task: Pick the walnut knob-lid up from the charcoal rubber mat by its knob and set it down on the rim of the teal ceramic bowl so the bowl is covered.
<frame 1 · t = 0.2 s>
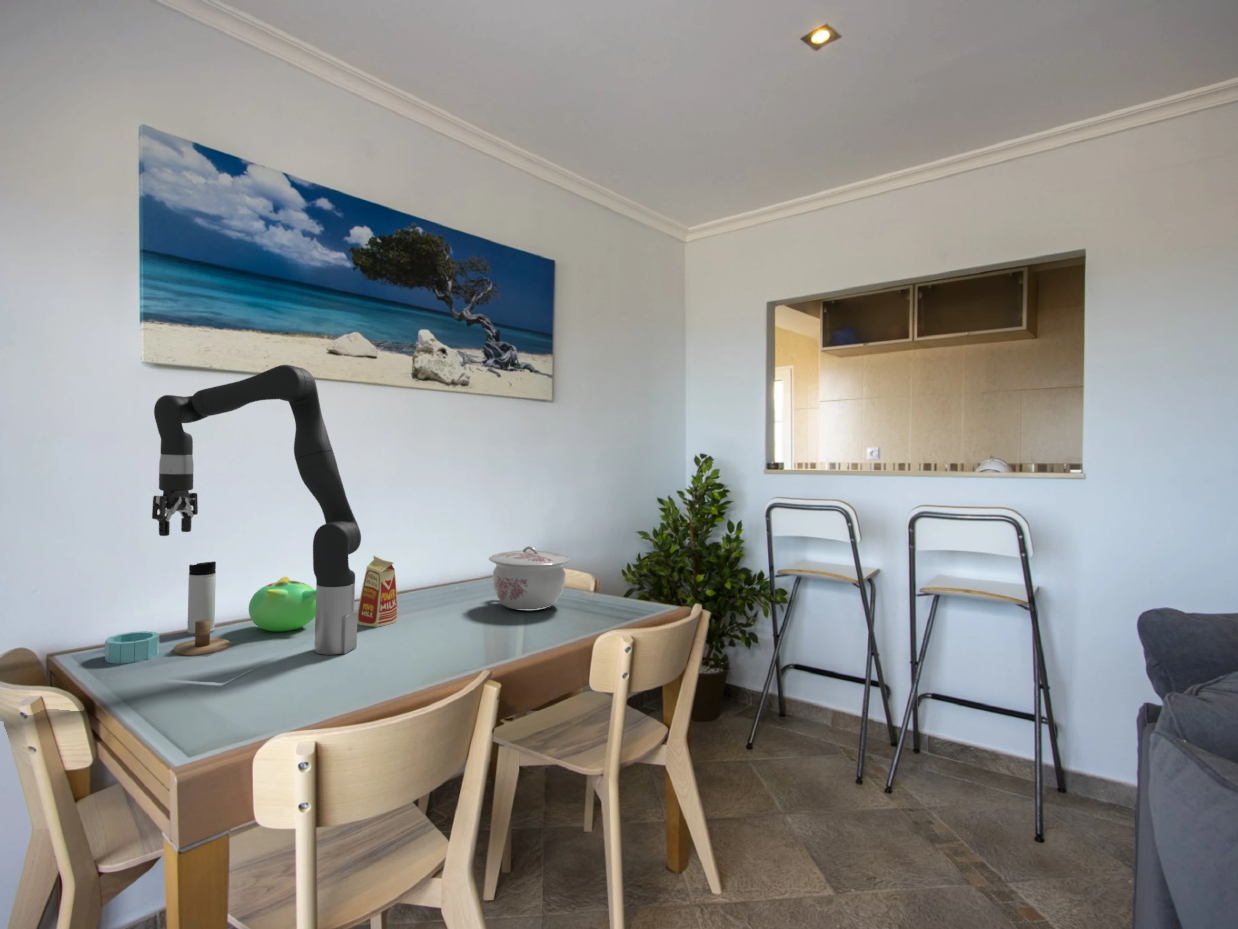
hand: (175, 533, 175), 28 cm above the table, fingers open, 8 cm apart
travel mug: (201, 635, 182), on the table
chamber pot: (528, 607, 227), on the table
toy bird: (284, 631, 188), on the table
mat: (202, 650, 168), on the table
lid: (202, 648, 168), point 1 cm above the table, touching mat
milk carton: (378, 623, 200), on the table
bowl: (132, 658, 160), on the table
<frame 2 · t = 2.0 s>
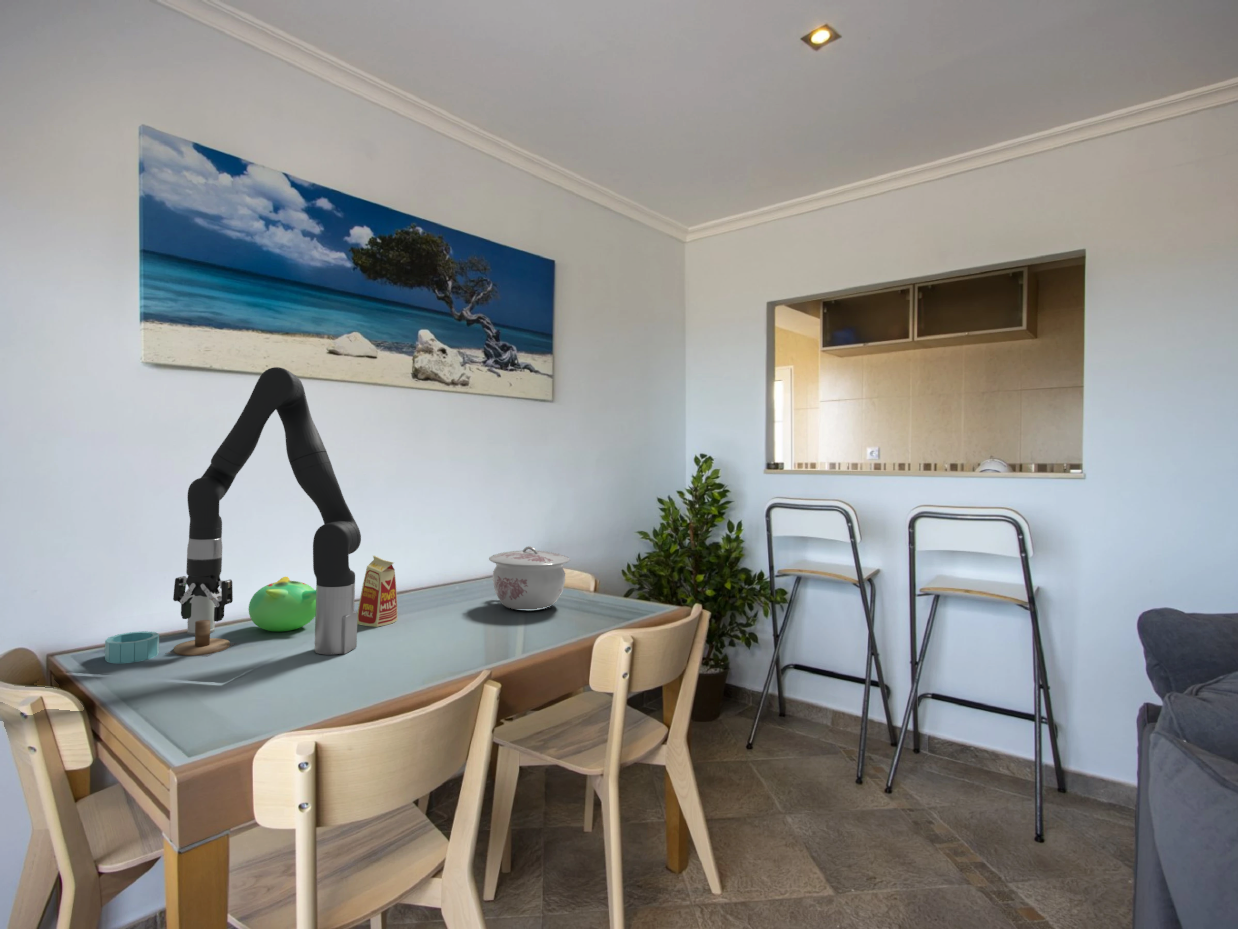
hand: (202, 619, 168), 8 cm above the table, fingers open, 8 cm apart
nothing on the table moved.
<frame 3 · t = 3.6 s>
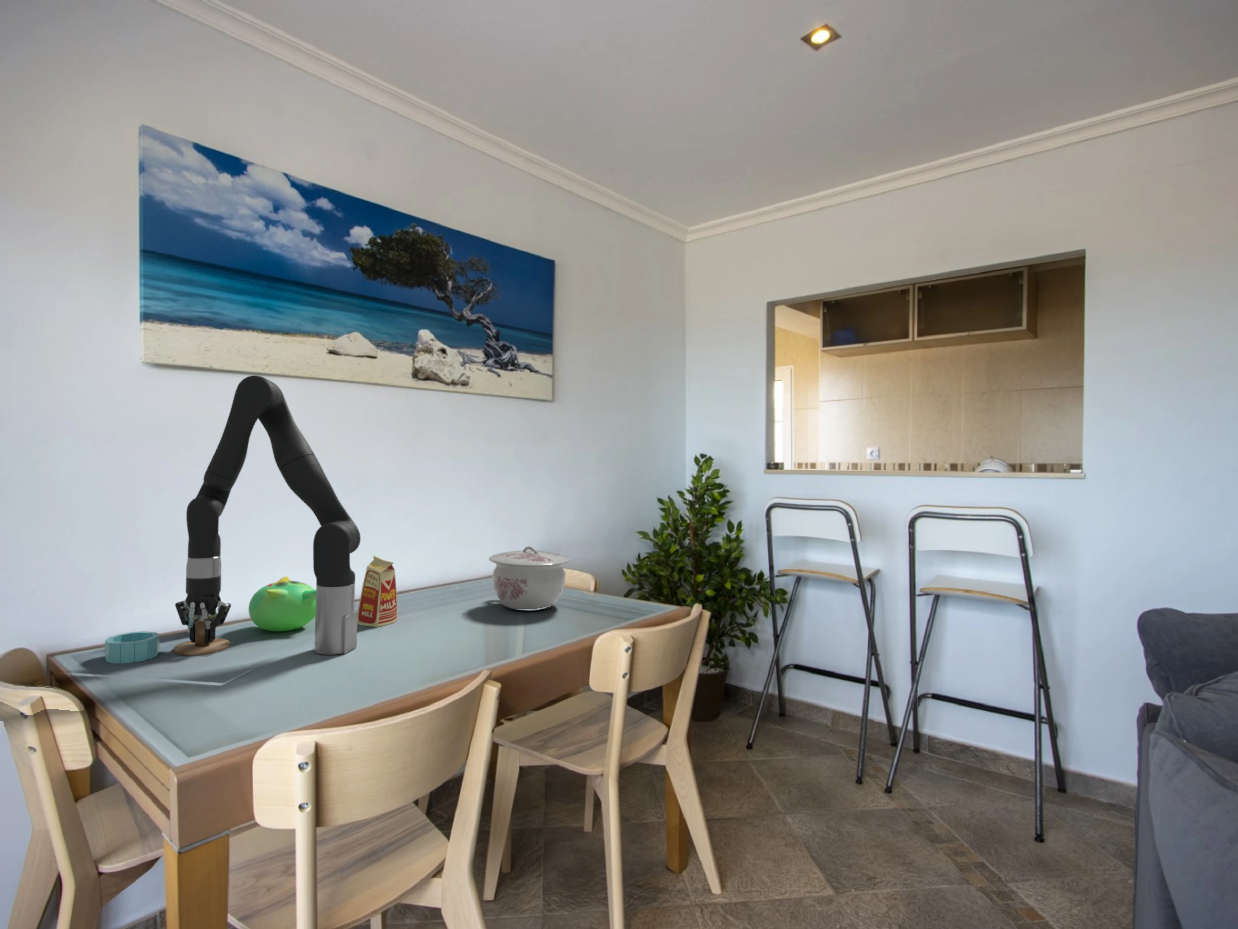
hand: (202, 642, 168), 2 cm above the table, fingers closed on lid, 3 cm apart
lid: (202, 648, 168), point 1 cm above the table, touching gripper, mat
everything else where it was.
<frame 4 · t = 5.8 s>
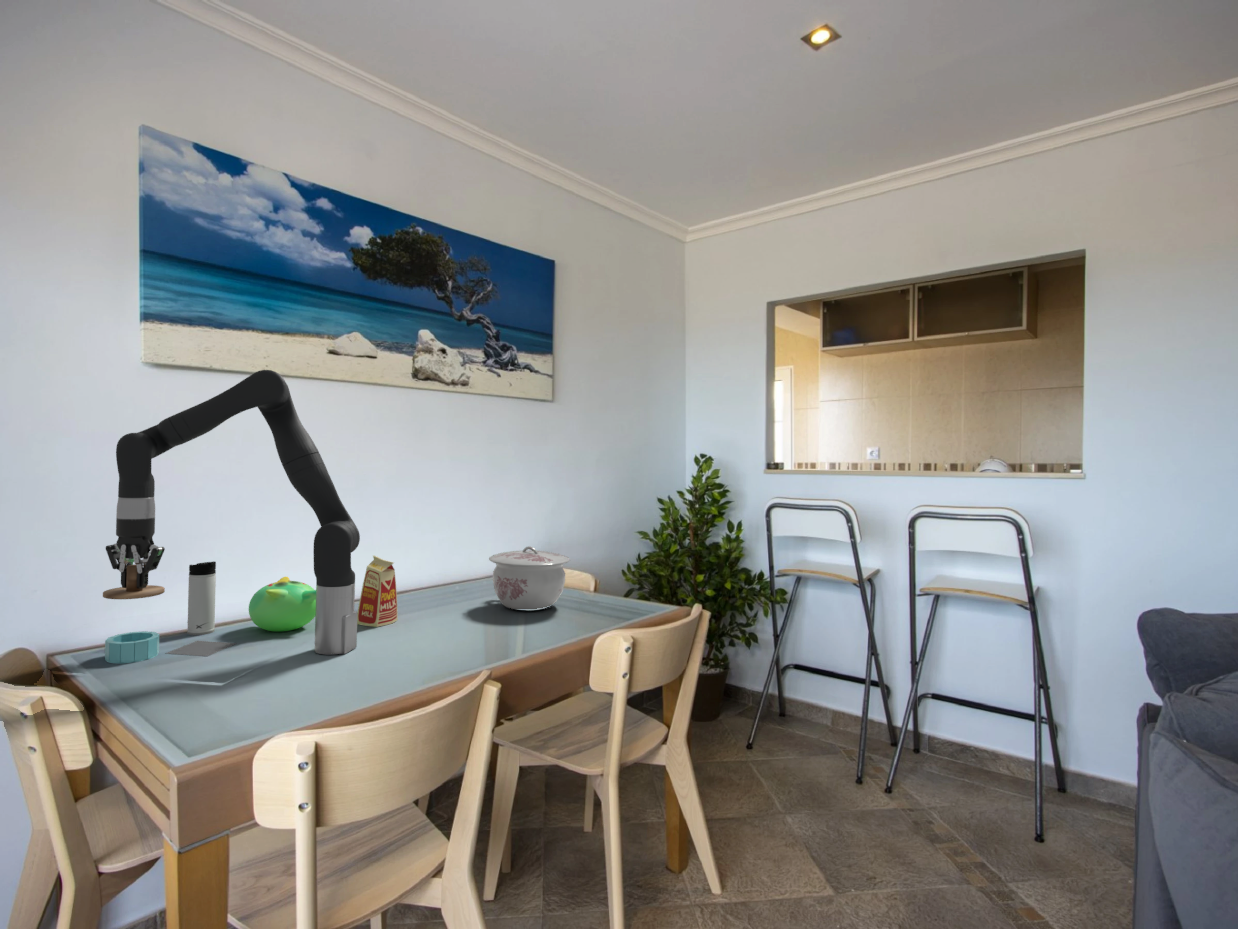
hand: (134, 587, 160), 17 cm above the table, fingers closed on lid, 3 cm apart
lid: (134, 593, 160), point 16 cm above the table, touching gripper
everything else where it was.
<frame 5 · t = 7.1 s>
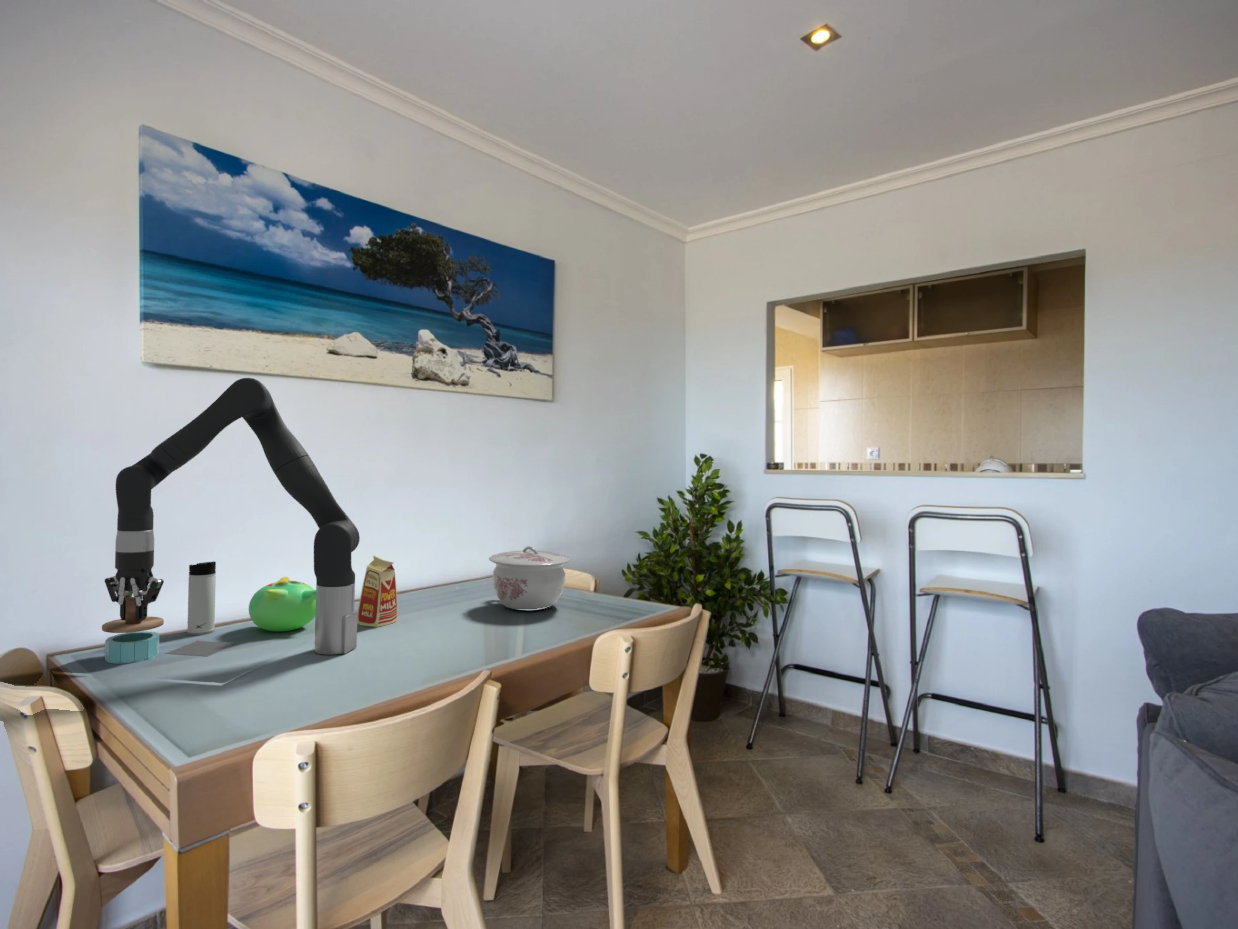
hand: (133, 619, 160), 9 cm above the table, fingers closed on lid, 3 cm apart
lid: (133, 626, 160), point 8 cm above the table, touching gripper
everything else where it was.
when the fingers open (8 cm above the table, at t = 8.1 s): lid drops 1 cm, resting on bowl.
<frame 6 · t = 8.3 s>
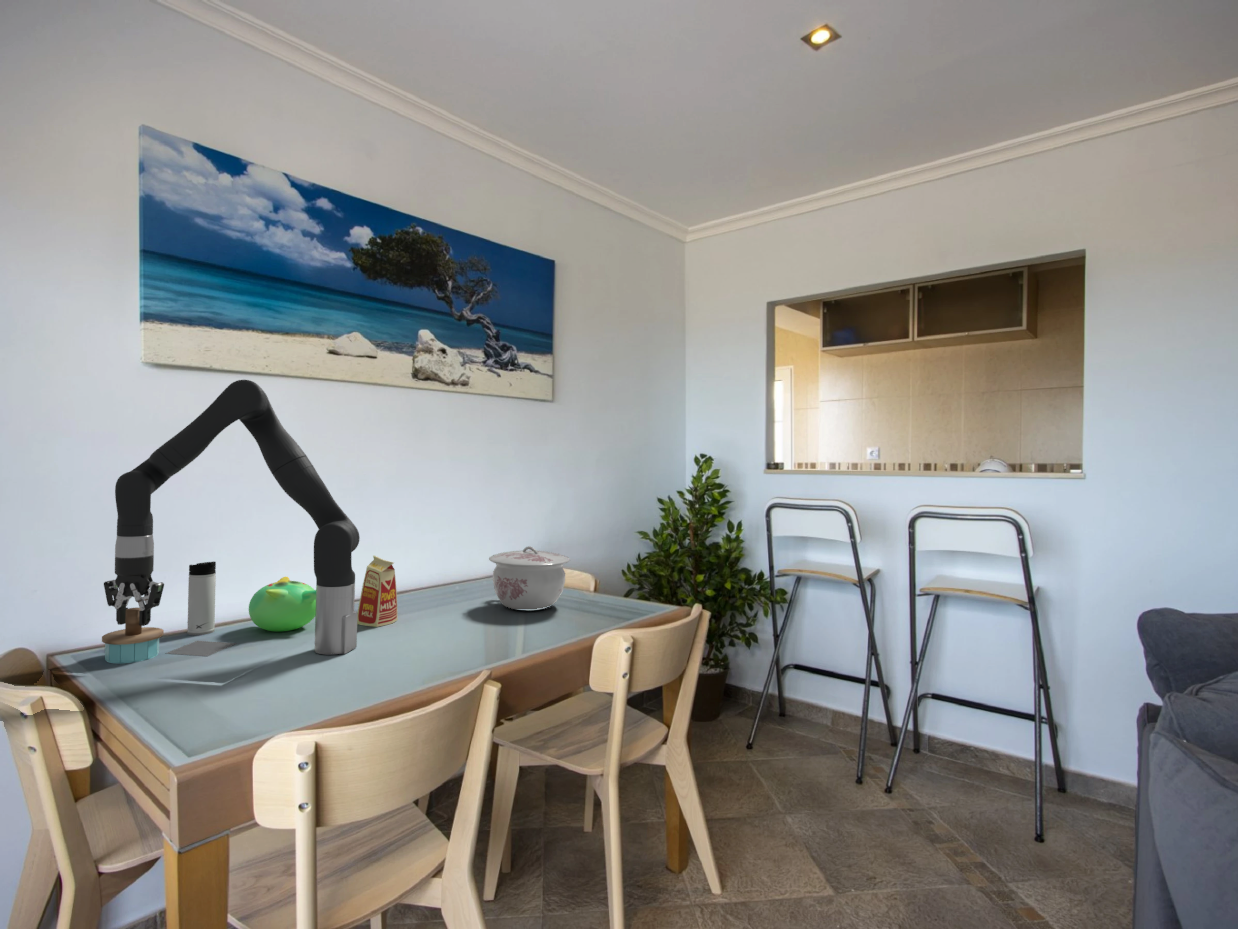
hand: (133, 624, 160), 8 cm above the table, fingers open, 5 cm apart
lid: (133, 637, 160), point 5 cm above the table, touching bowl
everything else where it was.
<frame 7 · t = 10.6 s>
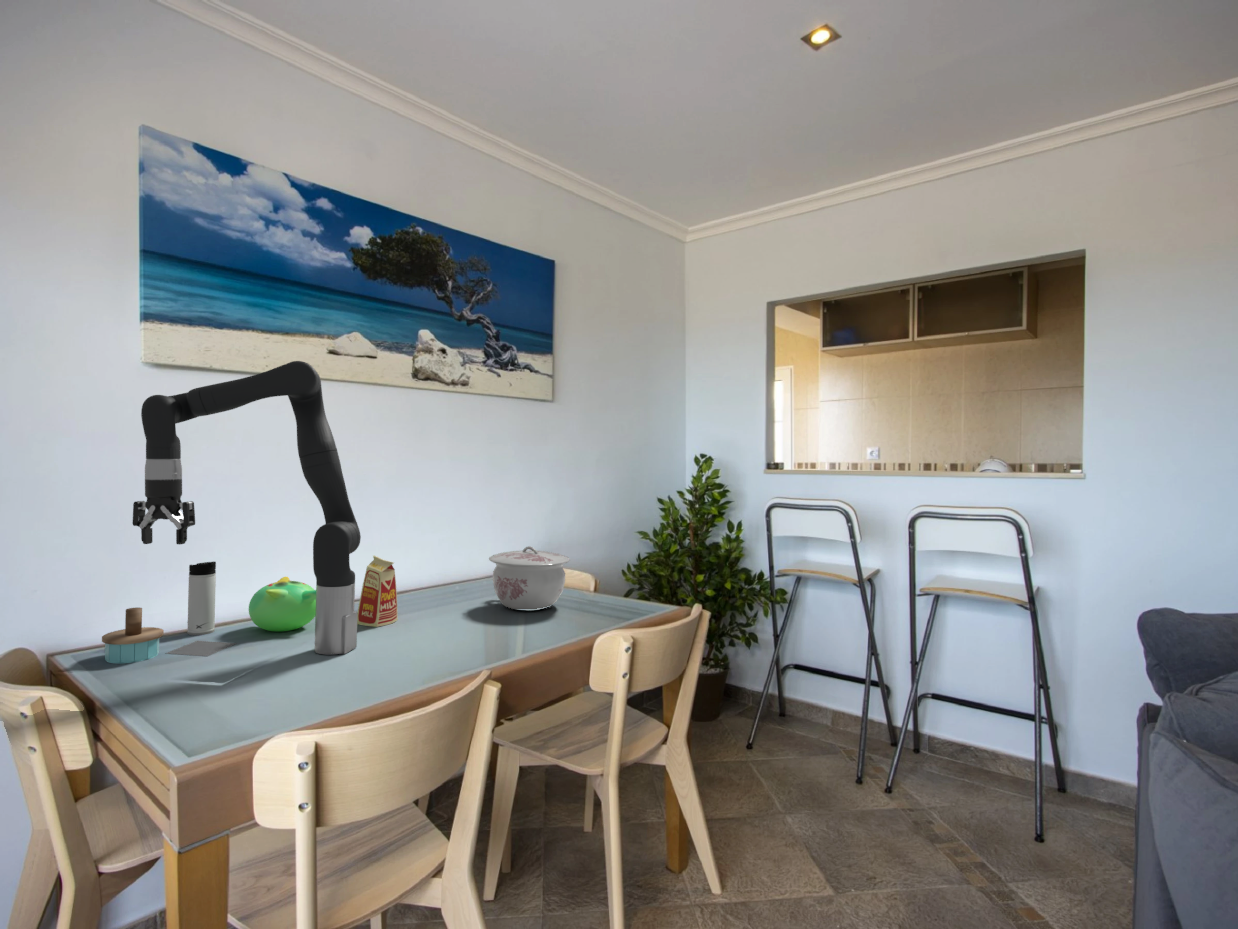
hand: (164, 543, 162), 27 cm above the table, fingers open, 8 cm apart
nothing on the table moved.
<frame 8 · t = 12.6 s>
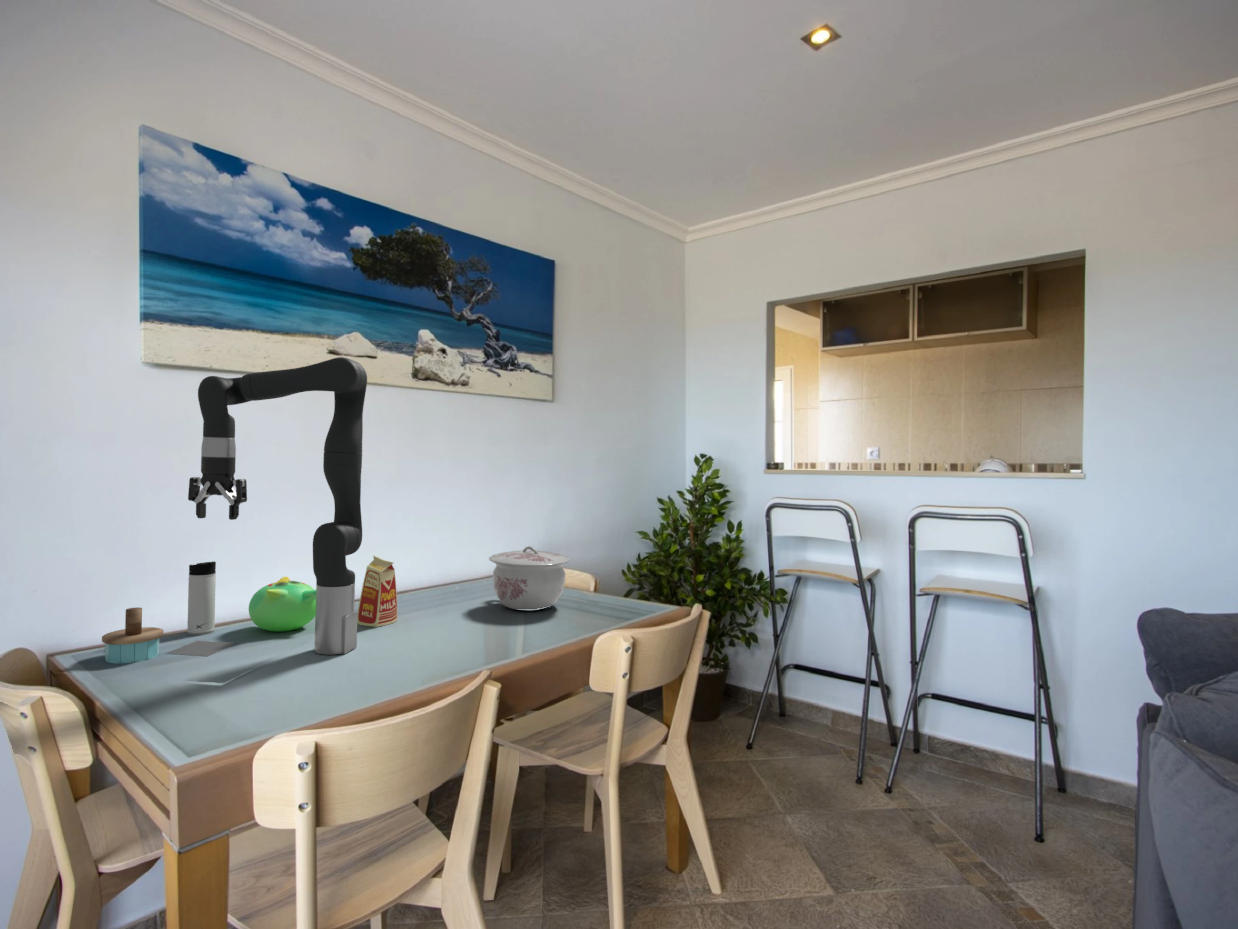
hand: (217, 518, 170), 33 cm above the table, fingers open, 8 cm apart
nothing on the table moved.
at the end: lid 0.1 cm off-centre on the bowl, point 5.2 cm above the bowl's base; lid tilted 0°; the gripper is holding nothing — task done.
